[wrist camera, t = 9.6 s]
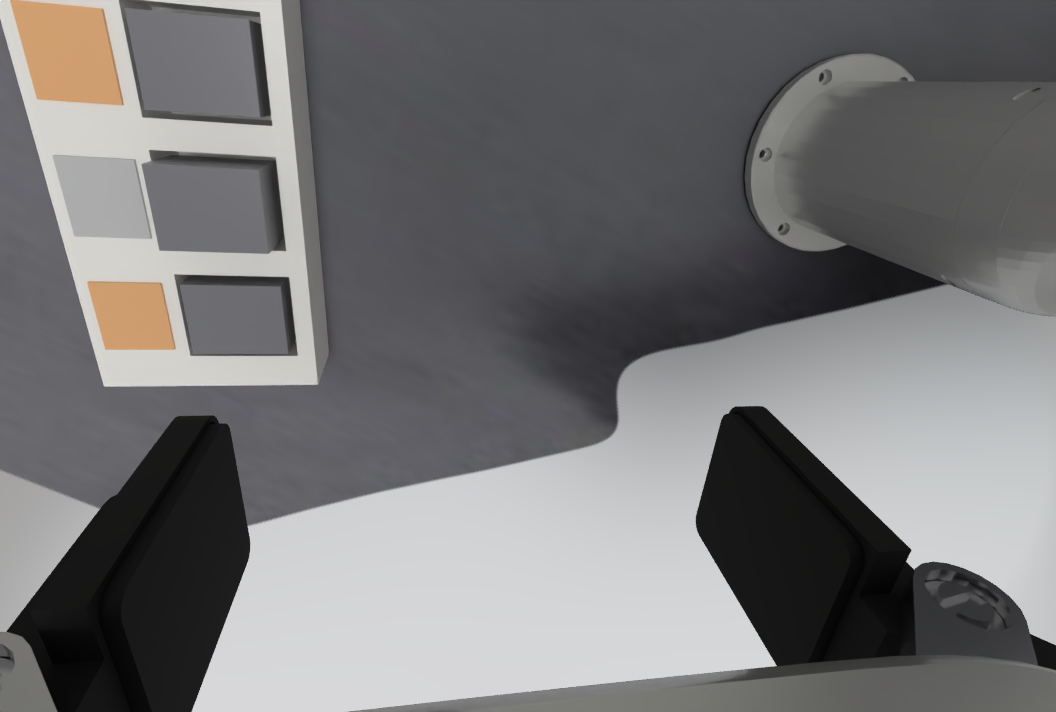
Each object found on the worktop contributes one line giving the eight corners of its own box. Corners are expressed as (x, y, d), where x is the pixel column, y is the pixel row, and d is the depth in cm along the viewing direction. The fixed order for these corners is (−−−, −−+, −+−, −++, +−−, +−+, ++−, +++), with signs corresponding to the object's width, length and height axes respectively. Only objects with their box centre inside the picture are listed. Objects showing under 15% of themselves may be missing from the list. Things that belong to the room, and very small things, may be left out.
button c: (293, 267, 35) (280, 286, 32) (300, 329, 37) (288, 353, 33) (202, 265, 34) (179, 284, 31) (214, 329, 36) (193, 353, 33)
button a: (268, 26, 29) (248, 19, 26) (277, 113, 31) (260, 117, 28) (158, 15, 28) (124, 7, 25) (174, 106, 30) (144, 109, 27)
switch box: (297, -21, 30) (276, -38, 26) (329, 353, 39) (317, 386, 35) (40, -50, 28) (-29, -73, 23) (139, 353, 37) (102, 388, 33)
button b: (276, 160, 31) (258, 170, 28) (284, 236, 33) (268, 253, 29) (171, 154, 30) (141, 163, 27) (186, 233, 32) (159, 250, 28)
